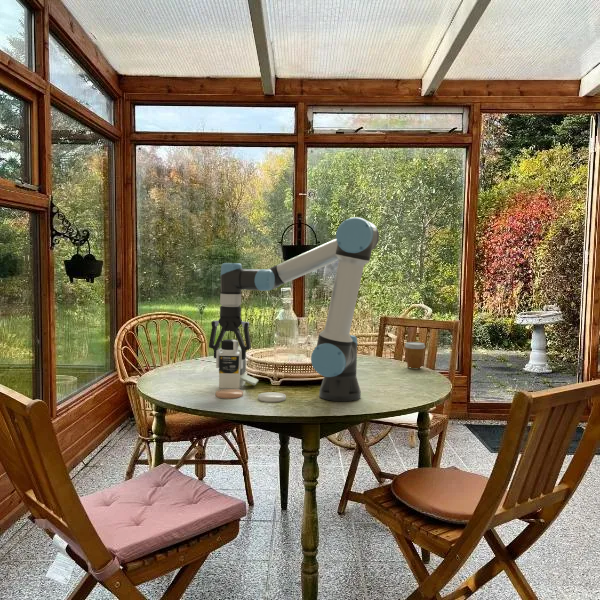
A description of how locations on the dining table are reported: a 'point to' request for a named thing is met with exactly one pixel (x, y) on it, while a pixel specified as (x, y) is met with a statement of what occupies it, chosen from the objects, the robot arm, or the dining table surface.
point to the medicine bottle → (229, 357)
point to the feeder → (236, 378)
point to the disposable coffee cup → (414, 354)
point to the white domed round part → (271, 397)
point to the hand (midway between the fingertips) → (229, 367)
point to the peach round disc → (229, 393)
